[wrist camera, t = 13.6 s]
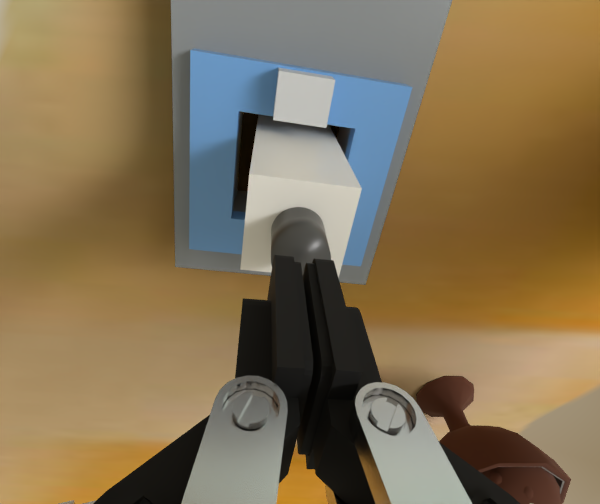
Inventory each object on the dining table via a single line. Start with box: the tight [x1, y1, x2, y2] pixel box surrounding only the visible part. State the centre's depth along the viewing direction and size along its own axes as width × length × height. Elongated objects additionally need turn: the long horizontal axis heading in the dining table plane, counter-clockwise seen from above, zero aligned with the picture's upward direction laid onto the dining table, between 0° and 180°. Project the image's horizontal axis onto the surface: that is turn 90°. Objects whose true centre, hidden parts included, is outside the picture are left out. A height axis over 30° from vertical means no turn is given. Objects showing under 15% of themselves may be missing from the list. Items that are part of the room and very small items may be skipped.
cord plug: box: [240, 114, 362, 278], centre depth 18 cm, size 4×4×12 cm
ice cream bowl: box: [417, 376, 571, 504], centre depth 29 cm, size 11×11×15 cm
